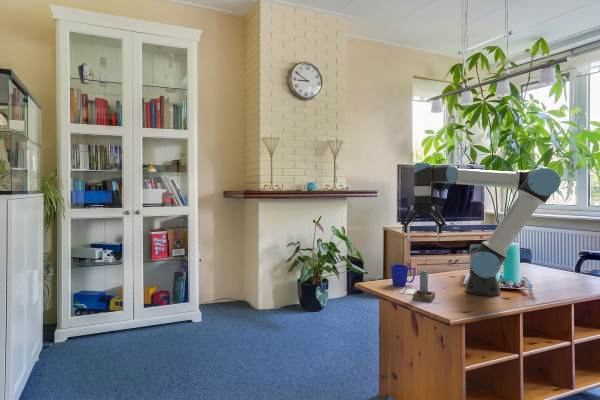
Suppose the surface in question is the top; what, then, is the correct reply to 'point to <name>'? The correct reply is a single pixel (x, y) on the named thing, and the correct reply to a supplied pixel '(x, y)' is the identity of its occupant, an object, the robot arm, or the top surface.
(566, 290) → the top surface
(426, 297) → the tray
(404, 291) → the paper
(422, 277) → the marker
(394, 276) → the mug
